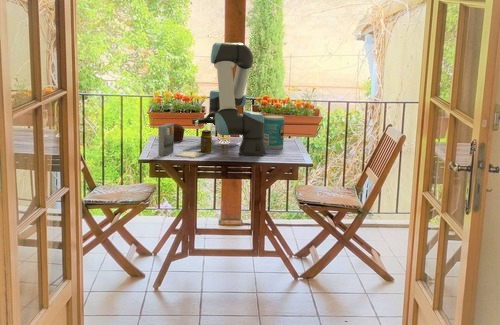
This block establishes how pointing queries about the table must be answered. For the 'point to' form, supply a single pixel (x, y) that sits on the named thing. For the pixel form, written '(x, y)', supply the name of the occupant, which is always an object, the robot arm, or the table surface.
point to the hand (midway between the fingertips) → (207, 124)
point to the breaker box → (166, 139)
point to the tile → (189, 154)
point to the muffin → (178, 133)
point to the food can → (273, 131)
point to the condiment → (206, 142)
